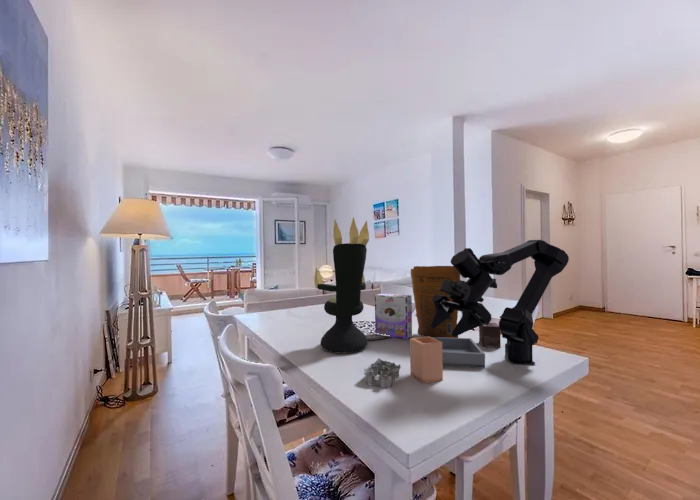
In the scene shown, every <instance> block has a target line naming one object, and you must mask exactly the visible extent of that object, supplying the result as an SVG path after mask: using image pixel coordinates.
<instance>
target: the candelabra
mask: <svg viewBox="0 0 700 500" xmlns="http://www.w3.org/2000/svg"><path fill="white" fill-rule="evenodd" d="M349 227H350V228H349V232H348V233H349V234H348V235H349V243H343V241H342V240H343V238H342V237H343V235H342V233H341V230H340V227H339V225H338V223H337V220H336V219H334V221H333V235H332V236H333V240H334V241H333V242H334V246H333V249H332V255H333V256H332V258H333V266H334V276H335V277H334V278H335V285H334V284H333V285H332V284H328V283H324V281H323V275H322V274H321V273H320V271H319V270H318V268H317V267H316V268H315V270H314V271H315V272H314V277H313V278H314V287H315V289H317V290H321V291H326V292H333V293H334V292H335V295H333V296H332V297H330V298H329V299H328V300H327V301H326V302H325V303H324V305H323V308H324V309H323V310H324V311H325V313H326V314H328V315H330V316H333V317H334V316H335V322H334V324H333V325H332V326H331V327H330V328H329V329H328V330H326V332H325V333H324V334H323V335H322V337H321V338H320V339H321V340H320V343H319V344H320V347H321V348H322V349H323V350H324V351H327V352H328V353H329V352H330V353H336V354H350V353H357V352H360V351H362V350H365V349H366V347H367V346H368V345H369V341H368V338H367V336H366V335H365V333H364V332H363V331H362V330H360V329H359V328H358V327H357V326H356V325H355V323H354V321H353V317H354V316H357V315H360V314H361V313H362V312H363V311H364V307H365V306H364V304H363V302H362V301H361V292H362V291H365V290H366V289H367V284H366V281H365V275H364V271H365V266H366V259H367V250H368V249H367V244H368V243H369V241H370V232H369V228H368V220H366V221H365V222H364V224H363V225H362V227H361V229H360V231H359V230H358V228H357V227H358V226H357V224H356V221H355V216H353V217H352V220H351V223H350V226H349Z"/></svg>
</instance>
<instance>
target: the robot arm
mask: <svg viewBox="0 0 700 500" xmlns="http://www.w3.org/2000/svg"><path fill="white" fill-rule="evenodd" d="M528 258H531V259H532V260H534V261H533V262H534V264H533V265H534V269H535V270H534V272H533V274H532V276H531V278H530V280H529V281H528V283H527V285H526V286H525V288H524V290H523V292H522V294H521V296H520V297H519V299H518V301H517V302H516V304H515V305H514V306H513V307H508V306H507V307H505V308H504V310H503V312H502V314H501V315H500V316H499V321H498V325H499V327H500V335H501V337H502V338H503V339H506V343H505V344H504V357H505V359H507V360H508V361H509V362H510V363H511V364H515V365H516V364H517V365H536V362H535V361H534V360H533V359H534V358H533V356H534V355H533V346H534V345H536V344H538V341H539V335H538V334H537V332H536V331H535V330H534V329H533V327H534V320H533V313H534V311H535V310H536V307H537V306H538V305H539V303H540V300H541V299H542V297H543V295H544V294H545V291H546V289H547V288H548V286H549V284H550V283H551V280H552V278H553V277H555V276H557V275H558V274H559V273H561V272H562V271H563V270H564V269H565V268H566V267H567V265H568V264H569V259H570V257H569V255H568V254H567V253H566V251H565V250H563V249H561V248H559V247H558V246H555V245H552V244H550V243H548V242H547V241H545V240H543V239H529V240H526V241H525V242H524V243H522V244H519V245H517V246H514V247H511V248H508V249H506V250H505V251H502V252H494V253H488V254H483V255H481V256H479V258H478V257H477V256H476V254H475V253H474V251H473V250H472V248H470V247H464V249H463V250H462V251H459V252H457V253H456V254H455V255H453V256H452V257H451V259H450V264H451V266H454V267H455V269H456V270H457V271H458V272H459V273H460V277H462V278H464V279H467V280H466V281H465V280H461V279H460V280H459V281H458V282H454V281H450V280H443V282H442V285H441V287H440V291H444V292H446V293H448V294H450V295H449V297H450V299H452V300H453V301H452V302H451V301H450V300H449V299H448V298H447V296H444V295H435V296H434V297H433V299H432V301H433V303H434V305H435V308H436V310H435V314H434V317H433V320H432V323H431V327H432V328H433V329H434V328H435V327H437V326H438V325H440V324H441V323H442V322H443V321H445V320H446V319H447V318H449V317H450V316H451V315H450V314H451V313H453V312H454V310H458V312H461V313H462V314H461V315H462V316H461V318H460V319H459V321H457V325H456V327H455V328H454V330H453V332H452V336H453V337H456V336H458V337H459V336H460V335H462V334H464V333H467V332H468V331H470V330H473V329H476V328H479V326H483V324H485V325H488V324H489V323H491V321H492V314H491V312H490V311H489V310H488V309H487V308H486V306H485V305H484V304H483V302H484V298H483V296H484V295H485V294H486V292H487V290H488V289H489V288H491V289H497V288H498V283H497V279H496V278H493V277H492V276H491V275H493V276H495V275H496V276H503V275H505V274H506V273H508V272H509V271H510V270H511V269H512V267H513V265H514V264H517V263H518V262H521V261H523V260H525V259H528Z"/></svg>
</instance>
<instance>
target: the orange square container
mask: <svg viewBox="0 0 700 500" xmlns="http://www.w3.org/2000/svg"><path fill="white" fill-rule="evenodd" d="M409 341H410V342H409V343H410V344H409V345H410V346H409V349H410V350H409V353H410V355H409V356H410V363H409V364H410V366H409V367H410V372H409V373H410V376H411V377H413V379H416V381H418V382H420V383H422V384H423V385H424V384H428V383H434V382H440V381H443V380H444V379H443V377H444V376H443V374H444V373H443V367H444V366H443V363H442V342H441V341H439V340H437V339H434V338H432V337H430V336H419V337H417V336H416V337H410V338H409Z"/></svg>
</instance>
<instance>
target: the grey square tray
mask: <svg viewBox="0 0 700 500" xmlns="http://www.w3.org/2000/svg"><path fill="white" fill-rule="evenodd" d="M432 338H434V339H437V340H439V341H441V342H442V363H443V367H455V368H457V367H461V368H479V369H480V368H482V369H483V368H484V369H485V368H486V354H485V352H484V351H483V350H482V349H481V347H479V345H478V344H477V342H475V341H474V340H473V338H471V337H470V338H468V337H458V338H442V337H432Z"/></svg>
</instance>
